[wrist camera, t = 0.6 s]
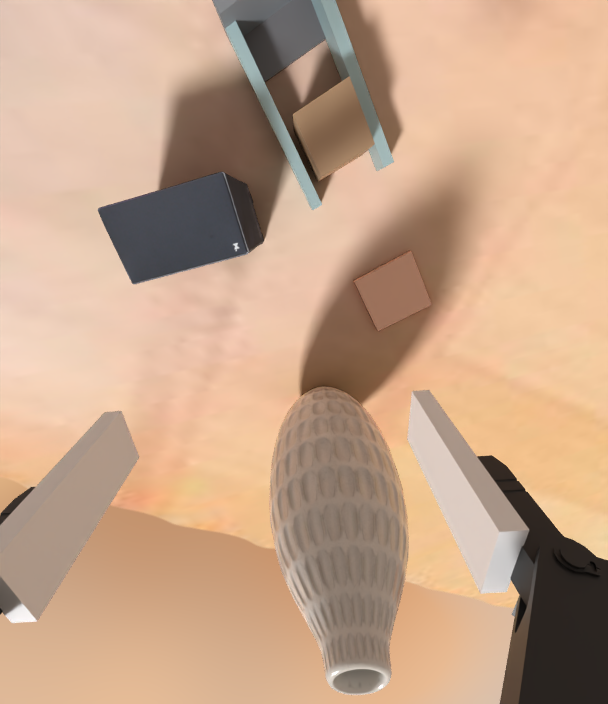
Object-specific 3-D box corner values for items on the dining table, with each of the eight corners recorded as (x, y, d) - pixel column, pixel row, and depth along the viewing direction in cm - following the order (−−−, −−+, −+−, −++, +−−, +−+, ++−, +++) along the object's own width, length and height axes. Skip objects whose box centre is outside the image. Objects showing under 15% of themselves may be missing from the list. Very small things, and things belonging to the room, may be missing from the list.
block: (293, 131, 30) (292, 113, 25) (339, 100, 29) (349, 76, 24) (317, 182, 32) (321, 177, 27) (361, 155, 31) (375, 143, 26)
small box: (246, 178, 32) (224, 165, 22) (265, 243, 35) (253, 256, 25) (151, 206, 33) (91, 205, 23) (176, 267, 36) (132, 288, 26)
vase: (275, 365, 41) (238, 627, 15) (372, 363, 41) (494, 619, 15) (280, 441, 46) (258, 729, 21) (365, 439, 46) (448, 723, 21)
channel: (225, 33, 27) (211, -3, 23) (311, -33, 26) (314, -85, 21) (311, 209, 33) (313, 210, 29) (385, 165, 32) (400, 158, 27)
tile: (353, 280, 36) (354, 281, 36) (409, 250, 35) (411, 251, 35) (376, 329, 39) (378, 331, 38) (430, 303, 38) (431, 304, 37)
